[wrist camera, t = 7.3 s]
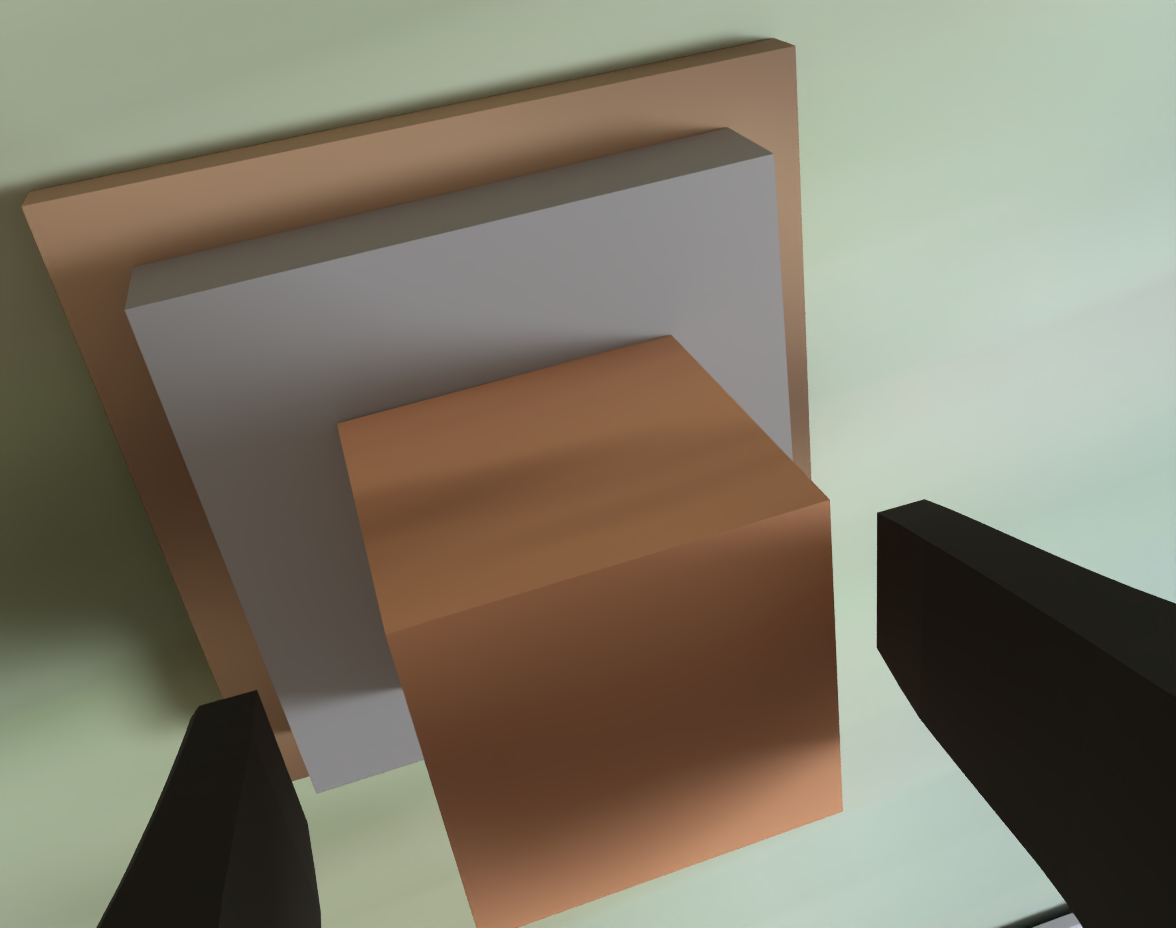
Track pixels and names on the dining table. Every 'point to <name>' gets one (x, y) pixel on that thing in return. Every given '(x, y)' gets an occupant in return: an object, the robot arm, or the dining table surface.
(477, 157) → the walnut base slab
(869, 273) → the dining table surface
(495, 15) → the dining table surface
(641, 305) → the slate top slab
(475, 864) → the terracotta cube
